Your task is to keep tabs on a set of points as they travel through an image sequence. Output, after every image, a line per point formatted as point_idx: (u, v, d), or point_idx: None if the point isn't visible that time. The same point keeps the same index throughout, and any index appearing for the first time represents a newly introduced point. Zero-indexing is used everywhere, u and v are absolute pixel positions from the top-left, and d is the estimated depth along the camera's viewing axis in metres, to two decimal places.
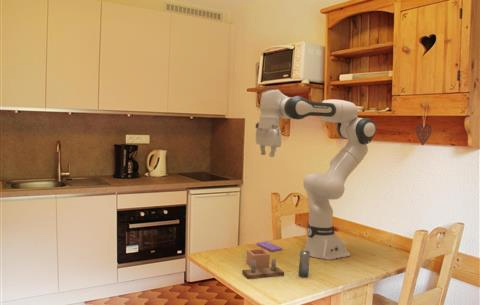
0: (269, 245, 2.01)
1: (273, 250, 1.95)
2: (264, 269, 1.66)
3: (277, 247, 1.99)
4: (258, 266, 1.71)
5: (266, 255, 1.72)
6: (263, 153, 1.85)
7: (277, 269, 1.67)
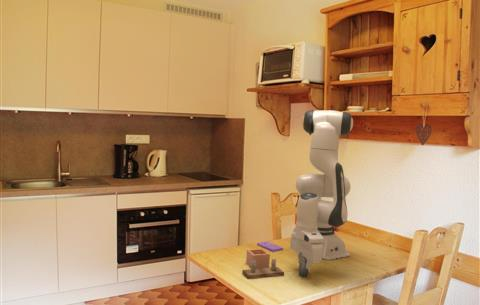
0: (270, 245, 2.02)
1: (274, 250, 1.95)
2: (264, 269, 1.66)
3: (278, 247, 1.99)
4: (258, 266, 1.71)
5: (266, 255, 1.72)
6: None
7: (277, 269, 1.67)
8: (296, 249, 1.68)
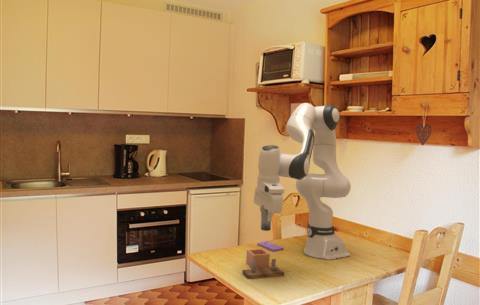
0: (270, 245, 2.02)
1: (275, 250, 1.96)
2: (264, 269, 1.66)
3: (278, 247, 1.99)
4: (258, 266, 1.71)
5: (266, 255, 1.72)
6: None
7: (277, 269, 1.67)
8: (259, 203, 1.65)
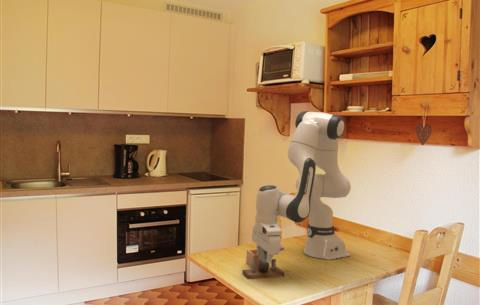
0: None
1: None
2: None
3: None
4: (258, 266, 1.71)
5: None
6: None
7: (277, 269, 1.67)
8: (256, 242, 1.67)
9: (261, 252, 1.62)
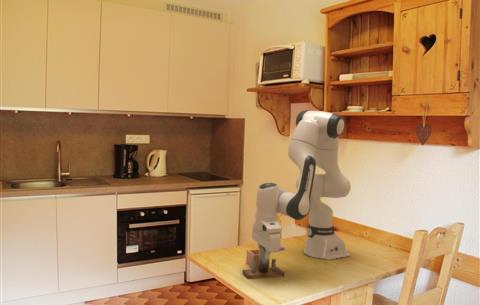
0: None
1: None
2: None
3: None
4: (258, 266, 1.71)
5: None
6: None
7: (277, 269, 1.67)
8: (256, 239, 1.67)
9: (261, 252, 1.62)
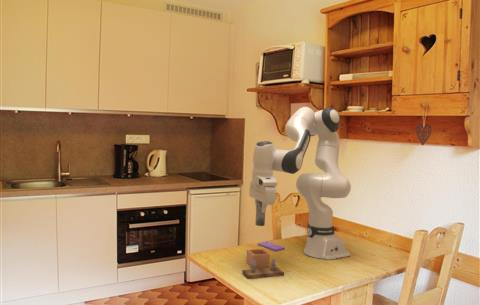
0: (271, 245, 2.02)
1: (277, 250, 1.96)
2: (264, 269, 1.66)
3: (280, 246, 2.00)
4: (258, 266, 1.71)
5: (266, 255, 1.72)
6: None
7: (277, 269, 1.67)
8: (253, 196, 1.76)
9: (258, 206, 1.72)
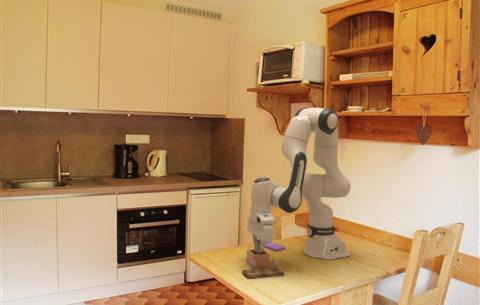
0: (272, 245, 2.02)
1: (278, 249, 1.96)
2: (264, 269, 1.66)
3: (280, 246, 2.00)
4: (258, 266, 1.71)
5: (266, 255, 1.72)
6: None
7: (277, 269, 1.67)
8: (252, 231, 1.77)
9: (256, 245, 1.73)
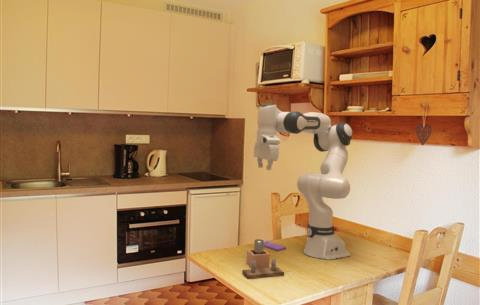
0: (272, 245, 2.02)
1: (279, 249, 1.97)
2: (264, 269, 1.66)
3: (281, 246, 2.01)
4: (258, 266, 1.71)
5: (266, 255, 1.72)
6: None
7: (277, 269, 1.67)
8: (258, 155, 1.88)
9: (256, 245, 1.73)
